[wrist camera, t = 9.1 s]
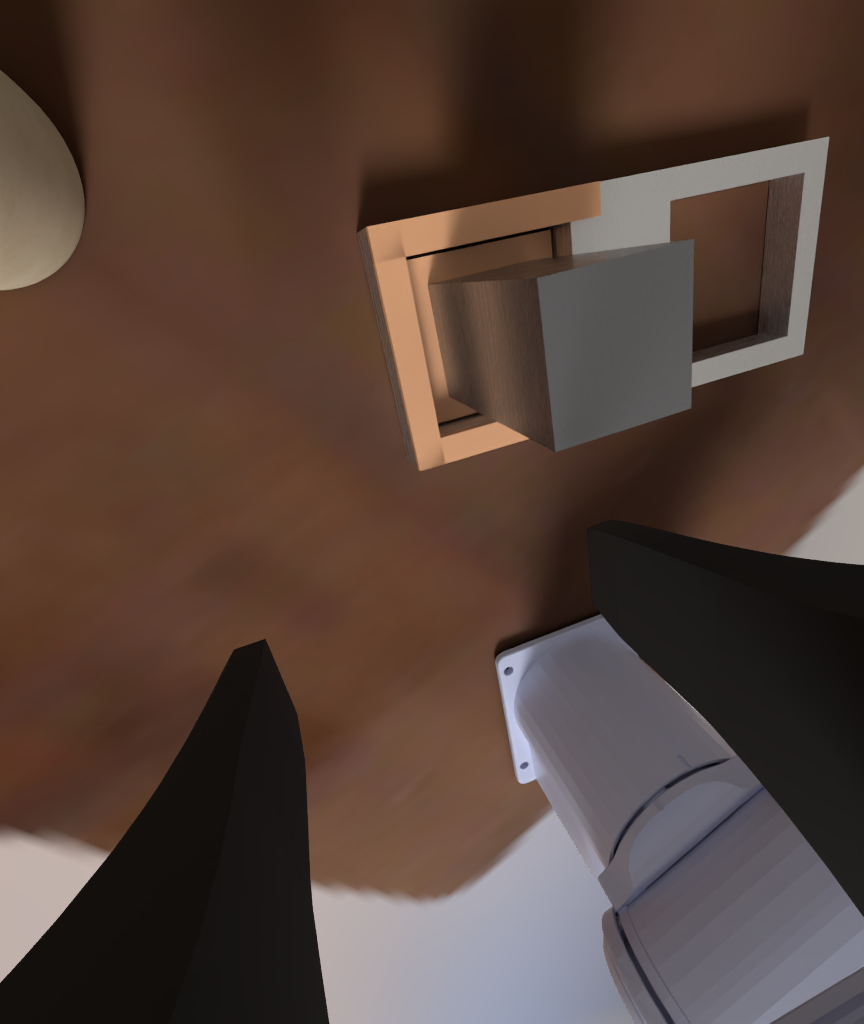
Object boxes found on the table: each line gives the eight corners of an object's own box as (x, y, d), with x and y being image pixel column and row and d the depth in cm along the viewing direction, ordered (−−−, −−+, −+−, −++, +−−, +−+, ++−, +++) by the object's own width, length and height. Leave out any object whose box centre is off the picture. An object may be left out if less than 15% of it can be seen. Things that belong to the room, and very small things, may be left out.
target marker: (584, 406, 22) (609, 414, 21) (407, 457, 21) (419, 471, 19) (570, 190, 19) (600, 180, 17) (356, 233, 17) (367, 226, 16)
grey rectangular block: (542, 369, 21) (691, 408, 14) (448, 396, 20) (555, 452, 13) (530, 259, 19) (694, 239, 12) (427, 284, 18) (537, 278, 11)
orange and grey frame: (773, 351, 24) (803, 354, 23) (407, 457, 21) (417, 468, 19) (792, 146, 21) (829, 136, 19) (356, 233, 17) (365, 228, 16)
